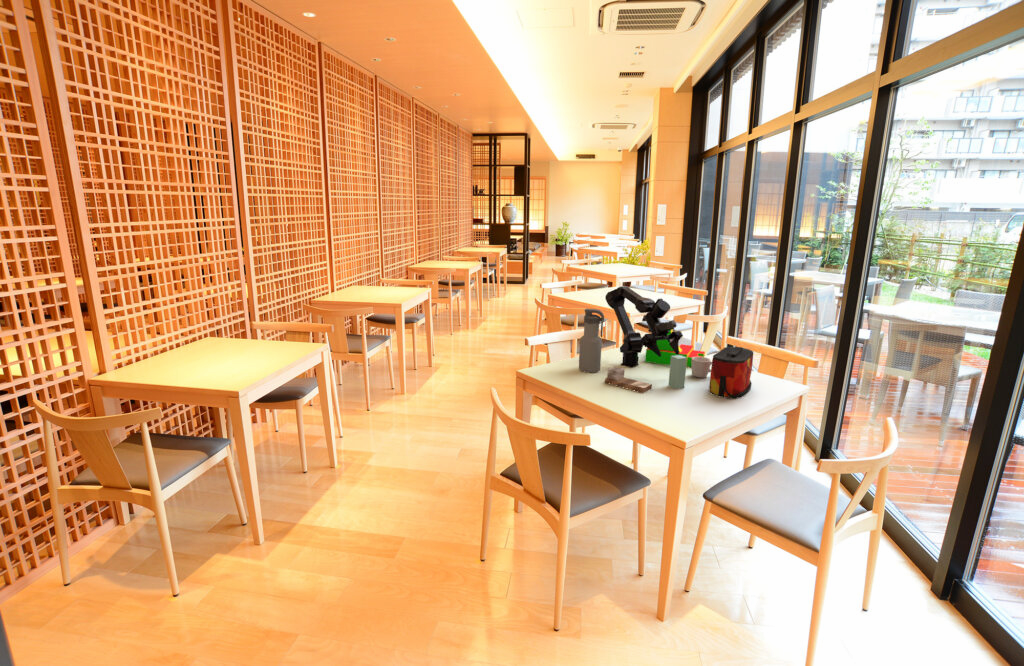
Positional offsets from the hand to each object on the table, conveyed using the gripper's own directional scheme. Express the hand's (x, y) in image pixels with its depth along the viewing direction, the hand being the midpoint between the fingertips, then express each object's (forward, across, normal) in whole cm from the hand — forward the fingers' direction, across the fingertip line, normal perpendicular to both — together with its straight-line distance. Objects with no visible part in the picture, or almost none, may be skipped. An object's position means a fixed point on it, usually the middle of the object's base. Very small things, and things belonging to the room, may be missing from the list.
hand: (669, 355), depth 222 cm
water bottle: (-10, -22, +28) cm, 37 cm away
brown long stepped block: (+7, -19, +10) cm, 22 cm away
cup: (+8, +21, +10) cm, 24 cm away
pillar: (+13, 0, +4) cm, 13 cm away
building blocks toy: (-10, +26, +27) cm, 39 cm away
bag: (+20, +20, -2) cm, 29 cm away
